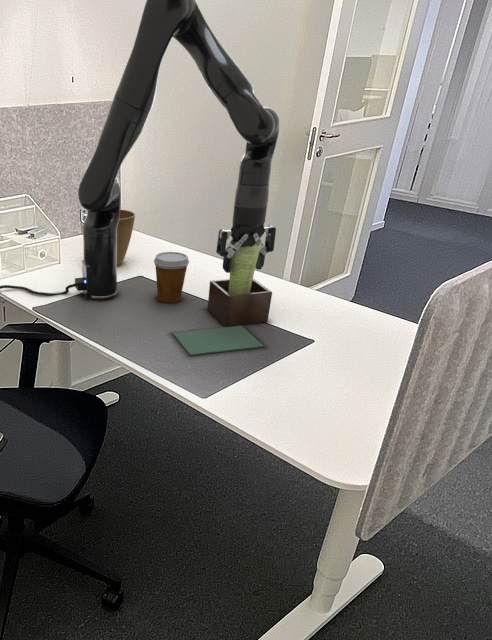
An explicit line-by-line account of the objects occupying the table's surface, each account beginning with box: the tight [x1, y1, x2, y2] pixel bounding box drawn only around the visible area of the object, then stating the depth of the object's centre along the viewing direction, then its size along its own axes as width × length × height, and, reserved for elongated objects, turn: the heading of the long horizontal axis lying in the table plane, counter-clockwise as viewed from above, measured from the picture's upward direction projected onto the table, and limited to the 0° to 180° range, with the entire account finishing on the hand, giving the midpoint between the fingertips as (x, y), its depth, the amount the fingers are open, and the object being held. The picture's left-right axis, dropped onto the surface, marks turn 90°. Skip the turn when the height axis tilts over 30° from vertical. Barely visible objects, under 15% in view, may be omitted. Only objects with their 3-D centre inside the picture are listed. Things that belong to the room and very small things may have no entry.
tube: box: [228, 241, 263, 295], centre depth 144 cm, size 6×5×20 cm
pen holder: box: [206, 278, 273, 327], centre depth 147 cm, size 12×12×8 cm
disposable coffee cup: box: [153, 251, 190, 303], centre depth 157 cm, size 10×10×12 cm
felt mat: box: [172, 325, 264, 357], centre depth 136 cm, size 18×12×1 cm, turn 102°
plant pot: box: [117, 209, 136, 267], centre depth 184 cm, size 15×15×16 cm
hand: (242, 270), depth 142 cm, fingers open, 8 cm apart
